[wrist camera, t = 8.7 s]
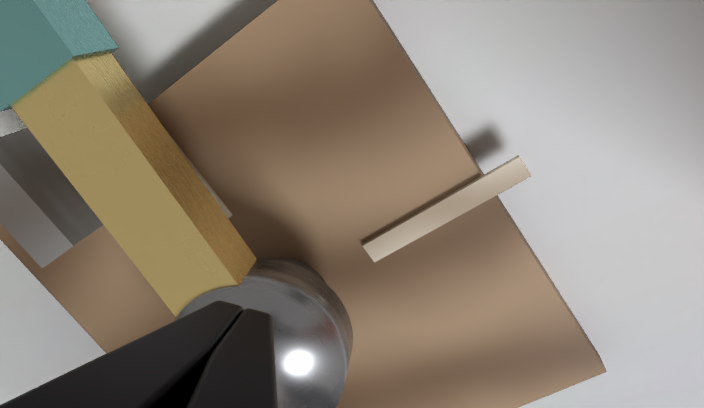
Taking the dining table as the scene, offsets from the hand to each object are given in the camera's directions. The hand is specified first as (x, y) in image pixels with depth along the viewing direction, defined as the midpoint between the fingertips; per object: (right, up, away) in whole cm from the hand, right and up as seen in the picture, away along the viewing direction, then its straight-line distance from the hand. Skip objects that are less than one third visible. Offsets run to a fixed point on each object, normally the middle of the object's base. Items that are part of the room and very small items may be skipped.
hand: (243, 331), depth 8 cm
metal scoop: (-4, +1, +10) cm, 11 cm away
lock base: (-1, -1, +14) cm, 14 cm away
